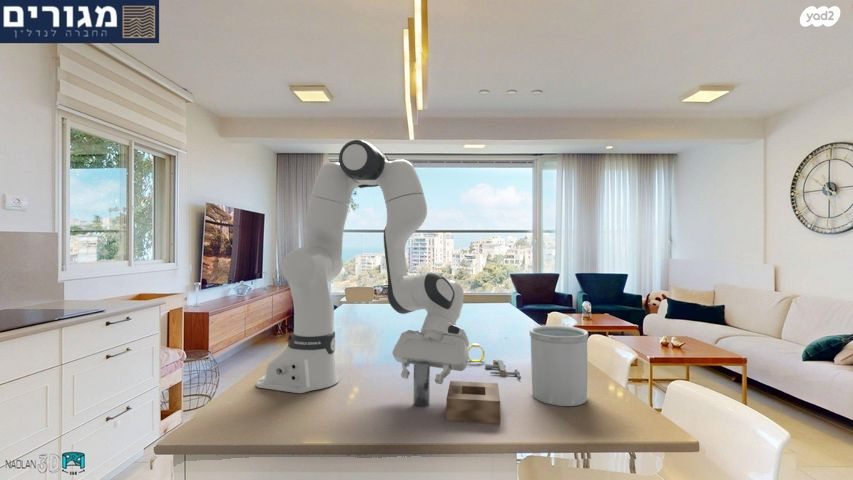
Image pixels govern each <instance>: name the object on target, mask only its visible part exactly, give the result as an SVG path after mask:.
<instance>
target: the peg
mask: <svg viewBox="0 0 853 480" xmlns="http://www.w3.org/2000/svg"><path fill="white" fill-rule="evenodd" d="M430 370H431V367H430V363H429V362H425V361H418V362H415V363H414V364H413V405H414V406H416V407H420V408H422V407H423V408H424V407H427V406H429V405H430V399H431V398H430V395H431V393H430V390H431V389H430V387H431V384H430V383H431V382H430V377H431V376H430V374H431V371H430Z"/></svg>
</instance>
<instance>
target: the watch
mask: <svg viewBox="0 0 853 480" xmlns="http://www.w3.org/2000/svg"><path fill="white" fill-rule="evenodd" d="M472 348H479V349H481V351H482V355H481V357H479V359H471V358H470V356H469V355H468V361H470V362H471V363H473V362H474V363H475V362H476V363H481V361H483V359H484V357H485V350H484V348H483V347H482V346H481V345H480V344H479V343H477V342H476V343H471V345H470V346H468V347H467V349H468V352H470V350H471V349H472Z"/></svg>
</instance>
